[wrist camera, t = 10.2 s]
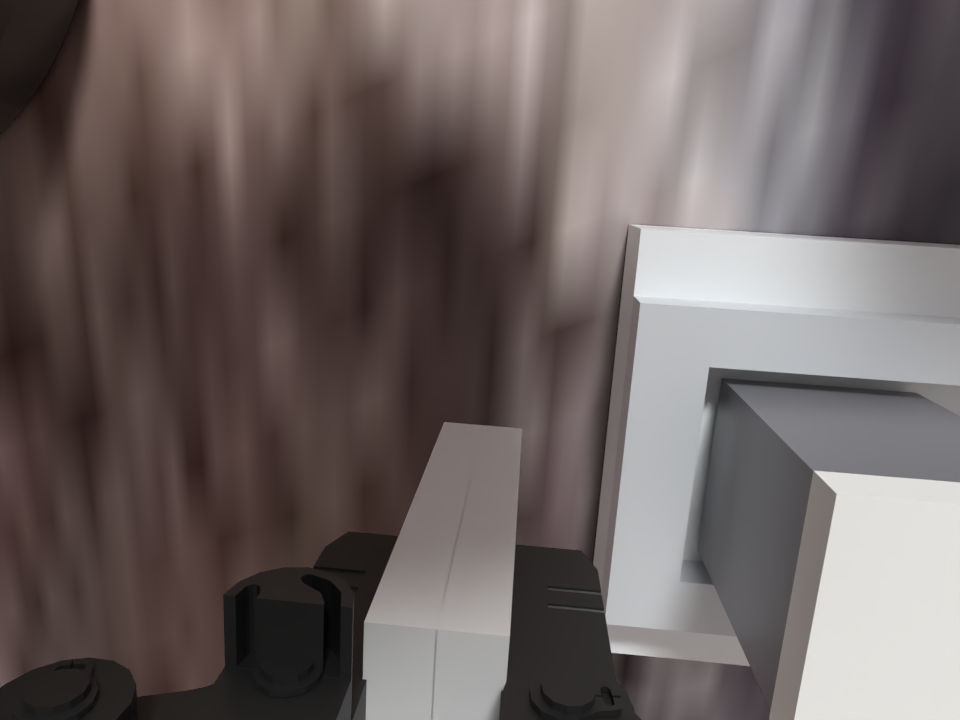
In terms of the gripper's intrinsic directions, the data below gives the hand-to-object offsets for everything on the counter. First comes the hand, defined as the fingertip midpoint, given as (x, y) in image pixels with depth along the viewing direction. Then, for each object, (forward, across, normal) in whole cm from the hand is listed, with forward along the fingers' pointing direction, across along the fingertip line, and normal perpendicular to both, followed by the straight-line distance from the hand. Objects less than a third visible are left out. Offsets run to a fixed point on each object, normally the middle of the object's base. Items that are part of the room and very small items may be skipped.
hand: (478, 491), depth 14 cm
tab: (+2, +7, 0) cm, 7 cm away
